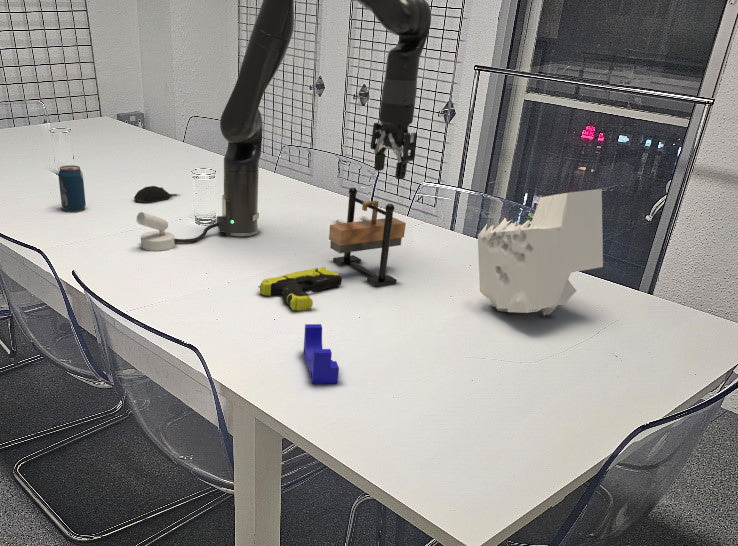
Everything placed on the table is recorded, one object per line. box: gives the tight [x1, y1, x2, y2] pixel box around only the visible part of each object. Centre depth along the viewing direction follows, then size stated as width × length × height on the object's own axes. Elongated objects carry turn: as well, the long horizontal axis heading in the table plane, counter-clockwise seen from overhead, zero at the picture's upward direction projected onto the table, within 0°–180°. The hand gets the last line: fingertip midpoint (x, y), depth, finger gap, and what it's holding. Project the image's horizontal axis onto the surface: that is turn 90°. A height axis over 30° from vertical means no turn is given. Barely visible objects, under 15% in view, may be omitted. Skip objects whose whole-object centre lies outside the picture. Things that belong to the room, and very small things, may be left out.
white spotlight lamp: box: [135, 211, 175, 252], centre depth 191 cm, size 9×10×10 cm
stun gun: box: [257, 266, 343, 312], centre depth 167 cm, size 3×19×15 cm
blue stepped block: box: [302, 323, 340, 385], centre depth 135 cm, size 12×4×6 cm, turn 5°
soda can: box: [57, 164, 87, 213], centre depth 217 cm, size 7×7×12 cm
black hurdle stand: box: [332, 187, 398, 288], centre depth 176 cm, size 6×19×18 cm, turn 27°
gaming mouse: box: [133, 185, 177, 203], centre depth 232 cm, size 6×15×4 cm, turn 128°
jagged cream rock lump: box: [477, 188, 604, 317], centre depth 157 cm, size 20×16×25 cm
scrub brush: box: [328, 200, 407, 254], centre depth 175 cm, size 18×5×11 cm, turn 117°
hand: (389, 174), depth 174 cm, fingers open, 8 cm apart
